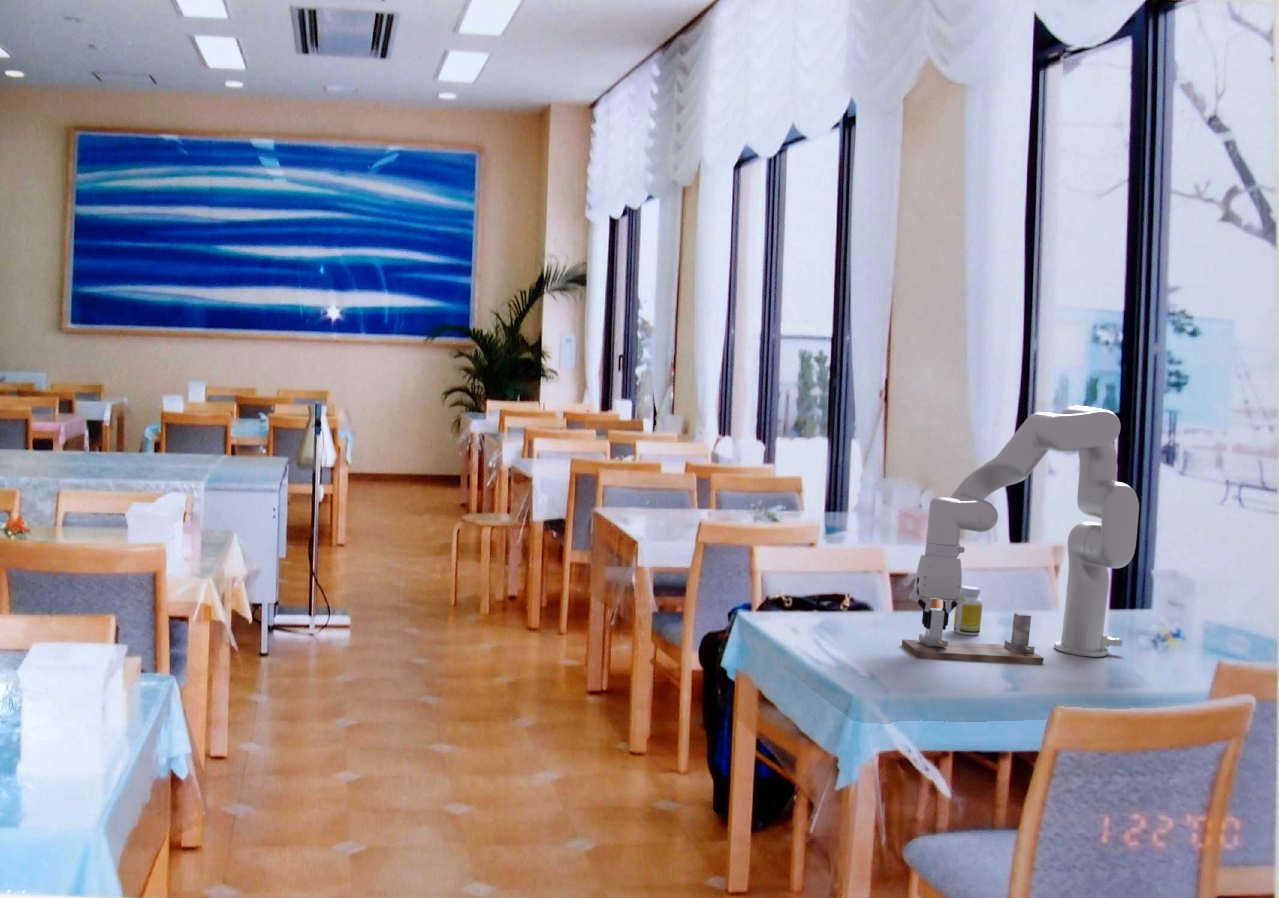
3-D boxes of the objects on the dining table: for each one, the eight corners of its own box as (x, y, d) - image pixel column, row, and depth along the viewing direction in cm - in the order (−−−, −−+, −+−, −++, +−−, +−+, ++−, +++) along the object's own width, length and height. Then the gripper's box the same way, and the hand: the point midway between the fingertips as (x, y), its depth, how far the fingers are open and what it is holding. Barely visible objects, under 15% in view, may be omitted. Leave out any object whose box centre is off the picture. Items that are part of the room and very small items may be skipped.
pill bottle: (984, 636, 353) (988, 590, 352) (960, 635, 352) (965, 589, 351) (971, 630, 360) (976, 585, 358) (948, 629, 358) (953, 584, 357)
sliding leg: (939, 640, 335) (942, 607, 334) (951, 650, 326) (954, 615, 325) (918, 639, 334) (922, 606, 333) (930, 648, 325) (933, 614, 324)
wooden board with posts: (1023, 651, 339) (1027, 610, 338) (1042, 664, 327) (1047, 621, 326) (901, 645, 335) (905, 603, 334) (916, 657, 323) (920, 614, 323)
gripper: (970, 549, 334) (962, 626, 336) (903, 545, 332) (895, 622, 334) (981, 555, 327) (973, 633, 328) (912, 551, 325) (905, 629, 326)
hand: (934, 627), depth 331 cm, fingers closed on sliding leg, 3 cm apart
